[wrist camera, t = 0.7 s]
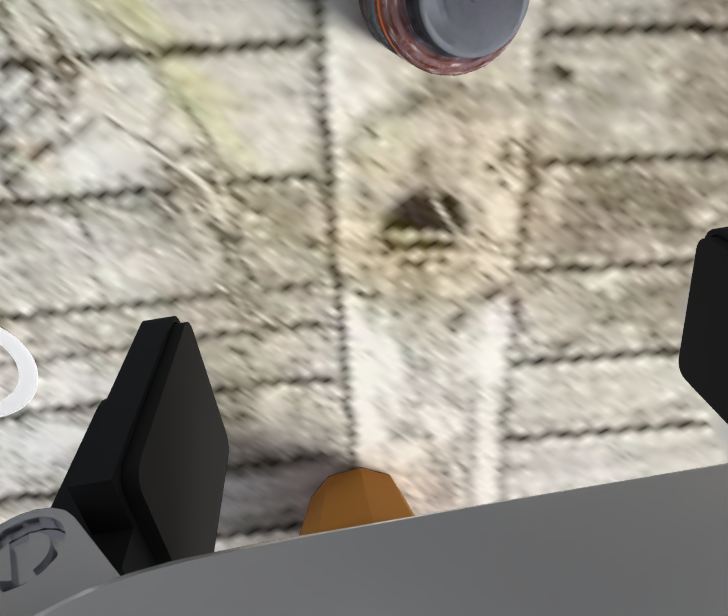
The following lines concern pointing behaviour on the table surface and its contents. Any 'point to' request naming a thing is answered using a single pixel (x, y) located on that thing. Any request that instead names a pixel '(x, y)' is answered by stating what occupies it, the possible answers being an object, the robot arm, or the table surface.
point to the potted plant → (354, 502)
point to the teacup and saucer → (26, 374)
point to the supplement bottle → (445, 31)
